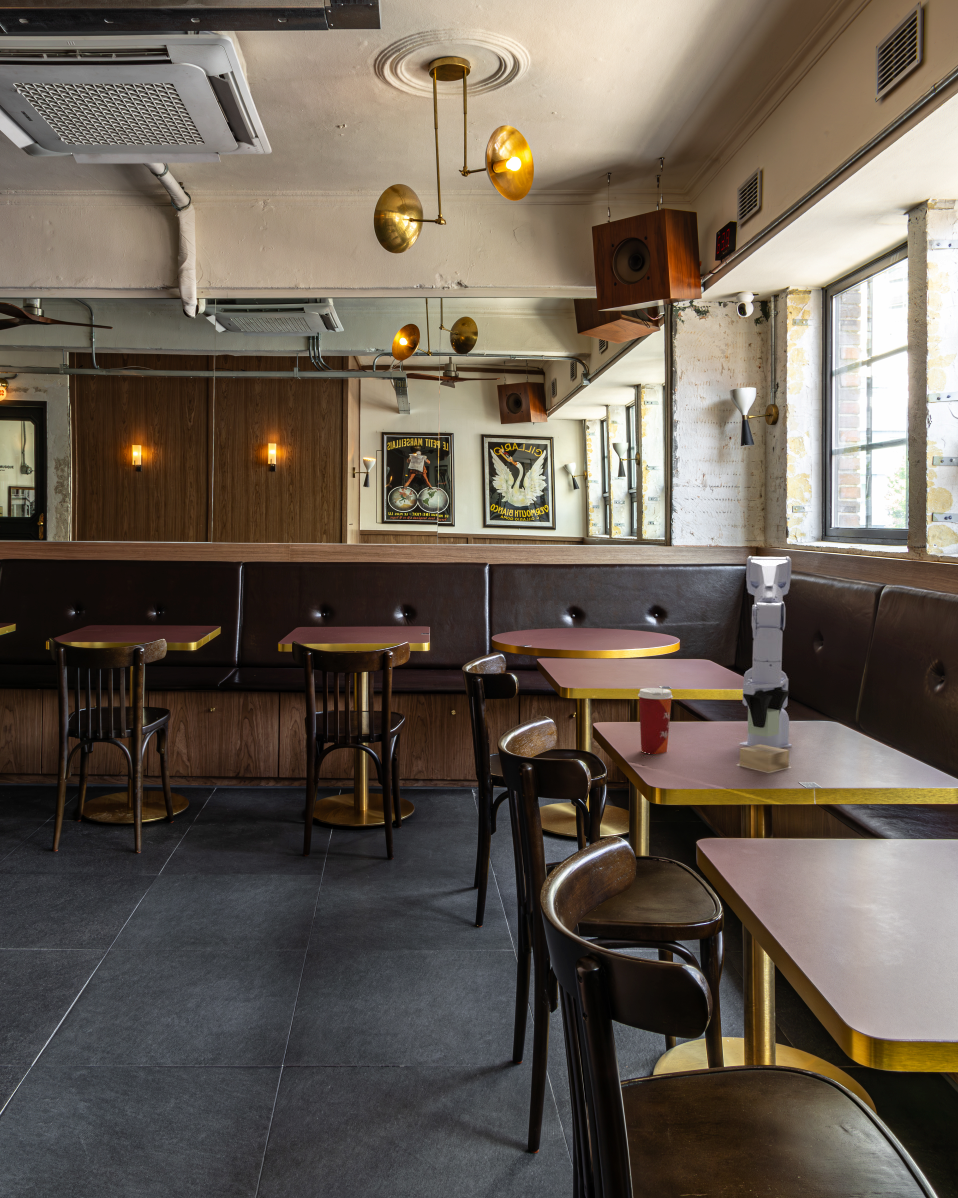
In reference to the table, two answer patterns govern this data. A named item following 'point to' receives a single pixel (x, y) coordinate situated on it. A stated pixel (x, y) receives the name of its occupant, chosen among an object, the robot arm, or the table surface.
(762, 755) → the oak base
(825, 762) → the table surface
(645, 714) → the paper cup
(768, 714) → the sage block
